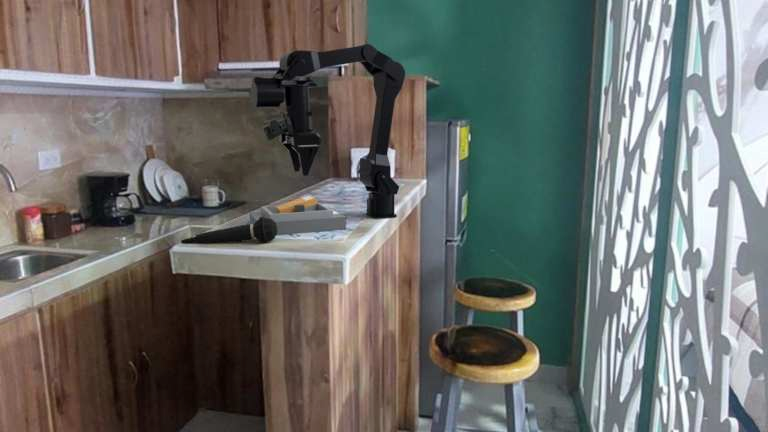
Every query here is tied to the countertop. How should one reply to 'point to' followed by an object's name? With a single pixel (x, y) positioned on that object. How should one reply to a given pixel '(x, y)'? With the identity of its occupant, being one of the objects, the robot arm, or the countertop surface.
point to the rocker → (290, 206)
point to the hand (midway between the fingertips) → (300, 173)
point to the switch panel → (302, 219)
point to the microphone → (239, 233)
